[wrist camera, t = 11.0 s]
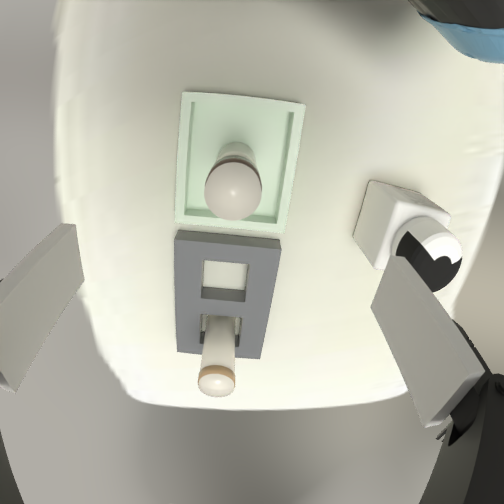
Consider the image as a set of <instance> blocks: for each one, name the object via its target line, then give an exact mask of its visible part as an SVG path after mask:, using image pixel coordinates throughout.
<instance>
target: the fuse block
mask: <svg viewBox="0 0 504 504" xmlns="http://www.w3.org/2000/svg"><path fill="white" fill-rule="evenodd" d="M280 255H281V245H280V241H279V240H276V239H266V238H256V237H246V236H235V235H225V234H214V233H204V232H193V231H182V230H178V233H177V235H176V237H175V239H174V274H175V316H176V339H177V352H183V353H192V354H201V355H202V352H203V344H204V337H205V332H201V325H202V314H207V315H218V316H229V317H241V324H240V332H239V335H235V358H250V359H260V356H261V351H262V347H263V342H264V337H265V332H266V327H267V322H268V317H269V312H270V307H271V302H272V297H273V292H274V287H275V282H276V276H277V271H278V266H279V260H280ZM204 260H210V261H220V262H231V263H242V264H248V272H247V279H246V287H245V291H242V290H231V289H220V288H209V287H203V271H204Z"/></svg>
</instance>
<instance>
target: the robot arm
mask: <svg viewBox="0 0 504 504" xmlns="http://www.w3.org/2000/svg"><path fill="white" fill-rule="evenodd" d="M408 1H409V2H410V3H411V4H412V5H413V6H414V7H415V8H416V9H417V12H418V13H419V14H420V16H421V17H422V18H423V19H425V20H426V21H427V22H429V23H431V24H432V25H433V26H434V27H435V28H436V29H437V30H438V31H439V32H440V33H441V34H442V35H443V37H444V38H445V39H446V40H447V41H448V42H449V43H450V44H451V45H452V46H453V47H454V48H455V49H456V50H457V51H459V52H461V53H462V54H464V55H466V56H468V57H471V58H475V59H478V60H480V61H484V62H490V63H503V64H504V0H408ZM83 282H84V275H83V269H82V264H81V258H80V252H79V245H78V239H77V231H76V225H75V224H63V223H61V224H60V225H59V226H57V227H56V228H55V229H54V230H53V231H52V232H51V233H50V234H49V235H47V236H46V238H44V239H43V240H42V241H41V242H40V243H39V244H38V245H37V246H36V247H35V248H34V249H33V250H31V252H30V253H28V254H27V255H26V257H24V258H23V259H22V260H21V261H20V262H19V263H18V265H16V266H15V268H13V269H12V271H11V272H10V273H9V274H8V275H7V276H6V277H5V278H4V279H2V280H0V388H2V389H5V390H7V391H9V392H12V393H14V394H16V392H17V390H18V388H19V386H20V384H21V382H22V380H23V379H24V377H25V375H26V373H27V371H28V369H29V368H30V366H31V364H32V362H33V360H34V358H35V357H36V355H37V353H38V352H39V350H40V348H41V347H42V345H43V343H44V342H45V340H46V338H47V337H48V335H49V333H50V332H51V330H52V328H53V327H54V325H55V324H56V322H57V321H58V319H59V317H60V316H61V314H62V313H63V311H64V310H65V308H66V307H67V305H68V304H69V302H70V301H71V299H72V298H73V296H74V295H75V293H76V292H77V290H78V289H79V287H80V286H81V285H82V283H83ZM371 309H372V311H373V313H374V315H375V317H376V320H377V322H378V324H379V326H380V328H381V330H382V332H383V334H384V336H385V338H386V341H387V343H388V345H389V347H390V349H391V352H392V354H393V356H394V358H395V360H396V363H397V365H398V367H399V369H400V372H401V374H402V376H403V379H404V381H405V383H406V386H407V388H408V390H409V393H410V395H411V398H412V400H413V403H414V405H415V407H416V410H417V412H418V415H419V417H420V420H421V423H422V425H423V428H426V427H430V426H434V425H438V424H441V423H442V422H443V421H444V420H445V418H446V417H447V416H448V415H449V414H450V415H451V417H452V419H453V420H452V422H451V423H450V424H449V425H448V426H447V427H446V428H445V429H444V430H443V431H442V432H441V433H440V434H439V435H438V436H437V438H436V439H437V440H439V439H440V438H441V437H442V436H443V435H444V434H445V437H444V439H443V440H442V442H443V444H442V446H441V449H440V453H439V455H438V458H437V461H436V464H435V466H434V469H433V472H432V474H431V477H430V480H429V482H428V484H427V487H426V489H425V491H424V494H423V496H422V499H421V500H420V503H419V504H504V375H501V374H492V373H491V371H490V369H489V368H488V366H487V365H486V363H485V361H484V360H483V358H482V357H481V355H480V354H479V352H478V350H477V349H476V348H475V347H474V344H473V343H472V341H471V340H469V337H468V336H467V334H466V332H465V331H464V330H463V328H462V327H461V326H460V325H458V324H457V323H456V322H455V321H454V320H452V319H451V318H450V316H449V315H448V313H447V312H446V311H445V309H444V308H443V306H442V305H441V304H440V302H439V301H438V300H437V298H436V297H435V296H434V294H433V293H432V292H431V290H430V289H429V288H428V286H427V285H426V284H425V282H424V281H423V280H422V278H421V277H420V276H419V275H418V273H417V272H416V271H415V270H414V268H413V267H412V266H411V264H410V263H409V262H408V261H407V260H406V258H405V257H400V256H391V255H390V257H389V260H388V262H387V265H386V268H385V271H384V273H383V276H382V279H381V281H380V284H379V287H378V289H377V292H376V294H375V297H374V299H373V302H372V304H371ZM0 504H24V503H23V500H22V497H21V495H20V492H19V490H18V487H17V484H16V482H15V479H14V476H13V473H12V470H11V467H10V464H9V461H8V457H7V454H6V450H5V447H4V443H3V440H2V436H1V432H0Z"/></svg>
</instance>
